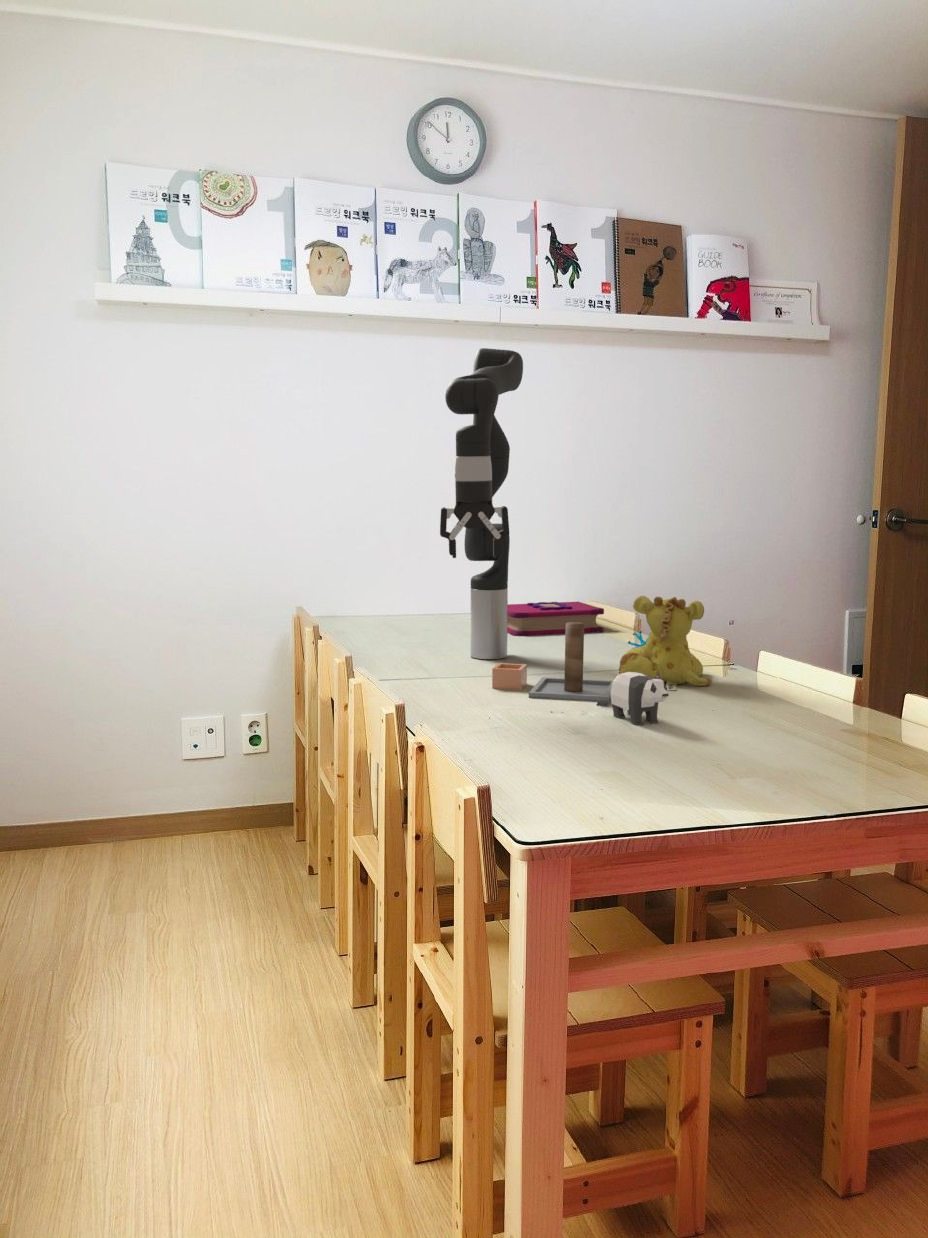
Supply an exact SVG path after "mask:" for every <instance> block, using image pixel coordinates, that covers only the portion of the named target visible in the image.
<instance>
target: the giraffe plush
mask: <svg viewBox="0 0 928 1238" xmlns="http://www.w3.org/2000/svg"><path fill="white" fill-rule="evenodd" d="M686 604H687V602H686V600H685V599H683V598H681V599H678V598H677V597H676V596H673V597H672V598H666V599H663V597H661V596H655V597H654V599H653V601H652V600H651V599H650V598H649V597H647V596H645V595H640V596H637V598H635V600H634V601H633V605H632V608H633V610H634V611H635V612H636V613H639V614H643V615H645V619H646V623H647V625H648V627H649V629H650V631H651V632H650V633H651V634H650V633H649V634H650V636H649V635H648V636H649V637H648V636H647V638H648V640H647V639H646V640H647V642H646V645H644V646H642V647H637V648H634V647H633V648H634V649H632V648H631V649H629V650H628V651H627V652H626V653H624V654H623V655H622V657H621V658H620V660H619V667H618V675H619V674H622V673H626V672H636V673H641V674H643V675H645V676H647V677H648V676H651V677H652V679H654V677H655V676H656V675H660V678H659V679H661V680H663V681H664V683H665V685H666V687H667V692H669V691H672V692H673V691H677V685H682V684H686V683H688V684H691V685H692V686H697V687H709V686H710V685H711V684H712V683H713V682H712V679H711V678H706V677H705V678H704V677H703V678H702V677H701V675H703V672H704V671H703V670H704V667H703V664H702V662H701V661H700V660H699V658H697V657H696V656H695V655H694V654H693V653H691V650H690V648H689V642H688V639H687V636H688V635H689V634H690V632H691V630H692V625H693V622H694V620H699V621H700V620H701V619H702V618H703V617H704V614H705V607H704V604H703V603H702V602H701V601H698V600H694V601H691V602H690V603H689V604H688V606H686Z"/></svg>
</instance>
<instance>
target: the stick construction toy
mask: <svg viewBox="0 0 928 1238" xmlns="http://www.w3.org/2000/svg"><path fill="white" fill-rule="evenodd" d="M638 634H639V635H638ZM650 634H651V632H650V633H649V634H648V636H647V638H646V640H644V639H643V636H642V631H639V633H636V632H635V631H634V632H633V633H632V636H635V637H636V638H637V639H638V640H639V641H640V644H639V643H636V642H635V643H634V642H631V641H630V640H629V641H628V642H627V644H628V645H631V646H634V647H632V648H631V649H634V648H637V647H642V646H644V645H646V642H647V640H648V637H649V636H650Z"/></svg>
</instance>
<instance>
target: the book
mask: <svg viewBox="0 0 928 1238" xmlns="http://www.w3.org/2000/svg"><path fill="white" fill-rule="evenodd" d="M604 614H605V609H604V608H603V607H598V606H594V605H591V604H587V603H584V602H581V601H565V602H561V601H560V602H559V601H549V602H545V601H540V602H527V603H514V604H513V603H511V604H509V603H508V623H507V634H509V635H510V636H513V637H528V636H546V635H547V636H549V635H565V630H566V623H568V622H580V623H584V634H587V633H589V634H590V633H591V634H592V633H603V632H604V627H603V626H600V625H597V616H598V615H600V616H601V615H604Z"/></svg>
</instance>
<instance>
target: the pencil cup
mask: <svg viewBox="0 0 928 1238" xmlns="http://www.w3.org/2000/svg"><path fill="white" fill-rule="evenodd" d="M491 674H492V677H491V679H492V681H491V686H492V687H491V688H492V689H496V690H513V691H514V690H515V691H516V690H517V691H522V690H523V688H525V687H526V685H527V682H528V677H527V676H528V664H526V663H525V664H524V663H523V664H521V663H502V662H500V663H499V662H498V663H497V664H496V665H494V667H492V671H491Z"/></svg>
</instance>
